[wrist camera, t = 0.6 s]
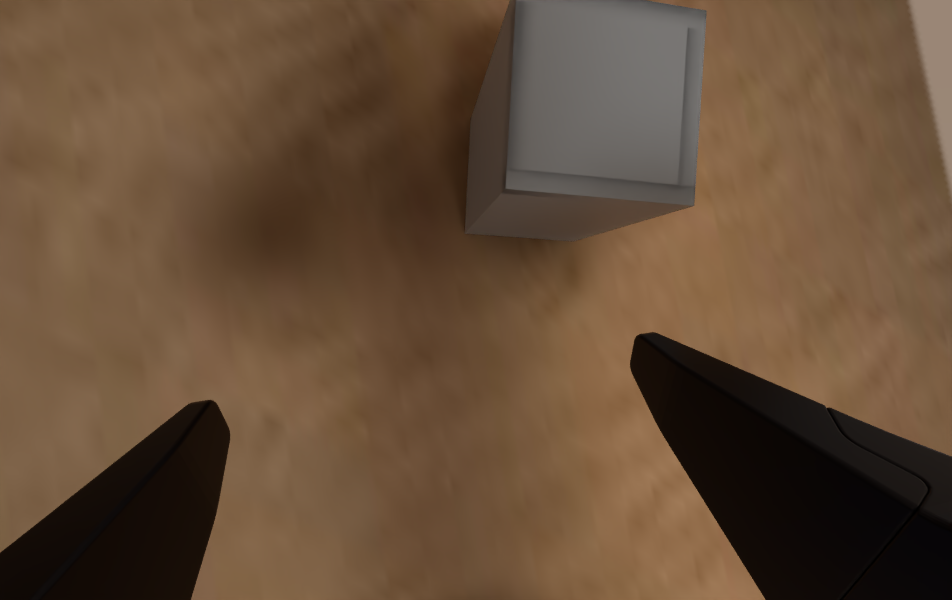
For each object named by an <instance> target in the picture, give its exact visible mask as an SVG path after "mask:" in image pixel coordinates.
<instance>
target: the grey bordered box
mask: <svg viewBox="0 0 952 600" xmlns="http://www.w3.org/2000/svg"><path fill="white" fill-rule="evenodd" d="M705 27H706V10H700V9H694V8H688V7H682V6H676V5H670V4H664V3H658V2H652V1H646V0H510V2H509V5H508V8H507V11H506V14H505V17H504V20H503V23H502V26H501V29H500V32H499V35H498V38H497V41H496V44H495V47H494V50H493V53H492V56H491V59H490V62H489V65H488V68H487V71H486V74H485V77H484V80H483V83H482V86H481V89H480V92H479V95H478V98H477V101H476V104H475V107H474V110H473V113H472V116H471V123H470V142H469V161H468V180H467V199H466V218H465V233H466V234H479V235H493V236H506V237H520V238H534V239H547V240H561V241H576V240H580V239H583V238H587V237H590V236H593V235H597V234H600V233H604V232H607V231H610V230H614V229H617V228H621V227H624V226H627V225H631V224H634V223H638V222H641V221H644V220H648V219H651V218H655V217H658V216H661V215H665V214H668V213H672V212H675V211H678V210H682V209H685V208H689V207H692V206H694V199H695V184H696V168H697V152H698V137H699V121H700V105H701V90H702V74H703V58H704V43H705Z"/></svg>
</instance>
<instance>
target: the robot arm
mask: <svg viewBox="0 0 952 600" xmlns="http://www.w3.org/2000/svg"><path fill="white" fill-rule="evenodd" d="M630 368H631V372H632V374H633V376H634V378H635V381H636V383H637V385H638V387H639V389H640V391H641V393H642V395H643V397H644V399H645V401H646V403H647V405H648V407H649V409H650V411H651V413H652V415H653V418H654V420H655V422H656V423H657V425H658V427H659V429H660V431H661V433H662V434H663V436H664V438H665V439H666V441H667V442H668V444H669V446H670V447H671V449H672V450H673V452H674V454H675V455H676V457H677V458H678V460H679V462H680V463H681V465H682V466H683V468H684V470H685V471H686V473H687V474H688V476H689V478H690V479H691V481H692V483H693V484H694V486H695V487H696V489H697V491H698V492H699V494H700V495H701V497H702V499H703V500H704V502H705V503H706V505H707V507H708V508H709V510H710V511H711V513H712V515H713V516H714V518H715V519H716V521H717V523H718V524H719V526H720V527H721V529H722V531H723V532H724V534H725V535H726V537H727V539H728V540H729V542H730V543H731V545H732V547H733V548H734V550H735V551H736V553H737V555H738V556H739V558H740V559H741V561H742V563H743V564H744V566H745V567H746V569H747V571H748V572H749V574H750V575H751V577H752V579H753V580H754V582H755V583H756V585H757V587H758V588H759V590H760V591H761V593H762V595H763V596H764V598H765V599H766V600H952V456H949V455H946V454H944V453H941V452H938V451H936V450H933V449H930V448H928V447H925V446H923V445H920V444H917V443H915V442H912V441H910V440H907V439H905V438H902V437H899V436H897V435H894V434H892V433H889V432H887V431H884V430H882V429H879V428H877V427H874V426H872V425H870V424H867V423H865V422H862V421H860V420H858V419H855V418H853V417H850V416H848V415H846V414H844V413H841V412H839V411H837V410H834V409H832V408H826V407H825V405H823V404H820V403H818V402H816V401H813V400H811V399H809V398H806V397H804V396H802V395H799V394H797V393H795V392H792V391H790V390H788V389H786V388H783V387H781V386H779V385H776V384H774V383H772V382H769V381H767V380H765V379H762V378H760V377H758V376H755V375H753V374H751V373H748V372H746V371H744V370H741V369H739V368H737V367H734V366H732V365H730V364H728V363H725V362H723V361H721V360H718V359H716V358H714V357H711V356H709V355H707V354H704V353H702V352H700V351H697V350H695V349H693V348H690V347H688V346H686V345H683V344H681V343H679V342H677V341H674V340H672V339H670V338H667V337H665V336H663V335H660V334H658V333H655V332H651V333H644V334H639V335H637V336H636V338H635V340H634V345H633V350H632V355H631V360H630ZM229 443H230V431H229V427H228V425H227V423H226V421H225V419H224V417H223V415H222V413H221V411H220V409H219V407H218V405H217V403H216V402H215V401H213V400H205V401H199V402H193V403H190V404H188V405H187V406H185V407H184V408H183V409H181V410H180V411H179V412H178V413H176V414H175V415H174V416H173V417H171V418H170V419H169V420H168V421H166V422H165V423H164V424H162V425H161V426H160V427H159V428H157V429H156V430H155V431H154V432H152V433H151V434H150V435H149V436H147V437H146V438H145V439H144V440H142V441H141V442H140V443H138V444H137V445H136V446H135V447H133V448H132V449H131V450H130V451H128V452H127V453H126V454H125V455H123V456H122V457H121V458H120V459H118V460H117V461H116V462H114V463H113V464H112V465H111V466H109V467H108V468H107V469H106V470H104V471H103V472H102V473H101V474H99V475H98V476H97V477H95V478H94V479H93V480H92V481H90V482H89V483H88V484H87V485H85V486H84V487H83V488H82V489H80V490H79V491H78V492H77V493H75V494H74V495H73V496H71V497H70V498H69V499H68V500H66V501H65V502H64V503H63V504H61V505H60V506H59V507H58V508H56V509H55V510H54V511H53V512H51V513H50V514H49V515H47V516H46V517H45V518H44V519H42V520H41V521H40V522H39V523H37V524H36V525H35V526H34V527H32V528H31V529H30V530H28V531H27V532H26V533H25V534H23V535H22V536H21V537H20V538H18V539H17V540H16V541H15V542H13V543H12V544H11V545H10V546H8V547H7V548H6V549H4V550H3V551H2V552H1V553H0V600H191V597H192V594H193V590H194V587H195V584H196V580H197V577H198V574H199V570H200V567H201V564H202V561H203V557H204V554H205V551H206V547H207V544H208V541H209V537H210V534H211V531H212V527H213V524H214V520H215V516H216V513H217V508H218V503H219V498H220V493H221V487H222V481H223V476H224V470H225V465H226V459H227V454H228V448H229Z"/></svg>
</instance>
